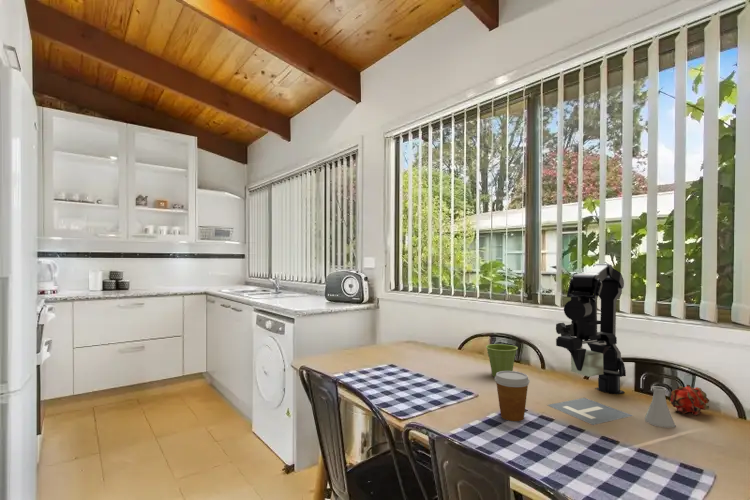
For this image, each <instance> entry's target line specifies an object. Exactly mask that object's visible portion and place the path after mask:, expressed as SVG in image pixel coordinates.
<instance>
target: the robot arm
mask: <svg viewBox="0 0 750 500" xmlns="http://www.w3.org/2000/svg"><path fill="white" fill-rule="evenodd" d="M569 281H570V282H569V285H568V290H567V292H566V293H567V294H566V297H567V298H570V300H569V301H567V302H565V304H564V306H563V313H564V315H565V316H566V318H568V319H569V320H571V323H570V324H565V322H558V323H556V324H555V330H556V331H555V332H556V334H558V335H559V336H558V337H556V338H555V345H556V347H560V348H564V349H566V350H567V351H569V353H570V356H571V355H572V358H573V360H574V363H575V365H576V368H577V370H578V371H581V370H582V367H583V362H584V358H585V353H586V350H587V348H584V347H583V345H585V344H587V346H588V347H589V348H590V351H594V352H598V353H603V374H602V375H598V378H597V382H598V384H597V387H595V388H594V389H595V390H597V391H600V392H603V393H606V394H609V395H616V396H617V395H622V394H625V392H626V391H624V390H621V378H622V377H626V376H627V374H626V373H627V372H626V366H625V362H624V360H623V358H622V353H621V351H620V349H619V347H618V346H617V344H618V341H617V340H618V339H617V336H616V334H617V333H616V330H617V329H616V328H617V326H616V325H617V323H616V322H617V321H616V320H617V301H618V300H619V298H620V297H621V295H622V293H623V289H624V288H625V287H624V286H625V279H624V277H623V275H622V273H621V272H620V271H618V270H617V269H616V268H614V267H613V264H610V263H596V264H593V267H591V268H590V269H589V270H587V271H586V272H584V273H583V272H582V273H581V272H580V273H574V274H573V275H572V277H571V278H570V280H569ZM598 297H599V299H600V320H599V319H598V306H597V305H598V304H597V303H598V302H597V299H598ZM598 325H600V327H599V331H598Z"/></svg>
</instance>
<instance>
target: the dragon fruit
mask: <svg viewBox="0 0 750 500" xmlns="http://www.w3.org/2000/svg"><path fill="white" fill-rule="evenodd" d="M707 396H708V395H707V393H706V392H704V391H703V390H702V388H701V387H698V386H696V387H694V388H693V387H692V385H690V384H686V386H682V385H679V386H677V387H676V389H674V390H672V391H671V392H670V397H669V401H668V402H670V404H671V405H672V407H673V408H676V410H675V413H680V414H686V413H692V414H693V415H694V416H697V415H700V414H701V410H703V411H707V410H709V409H710V405H707V404H708V403H710V399H709V398H708V397H707Z"/></svg>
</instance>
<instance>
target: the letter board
mask: <svg viewBox="0 0 750 500" xmlns="http://www.w3.org/2000/svg"><path fill="white" fill-rule="evenodd" d="M547 406H548V407H550V408H553V409H554V410H556V411H559V412H562V413H564V414H566V415H569V416H571V417H574V418H576V419H578V420H581V421H583V422H585V423H587V424H590V425H593V426H594V425H598V424H603V423H607V422H611V421H617V420H620V419H625V418H630V417H634V415H633V414H630V413H627V412H625V411H622V410H619V409H617V408H613V407H610V406H608V405H606V404H603V403H600V402H598V401H595V400H592V399H591V398H590V399H589V398H587V397H581V398H575V399H571V400H565V401H561V402H556V403H550V404H547Z"/></svg>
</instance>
